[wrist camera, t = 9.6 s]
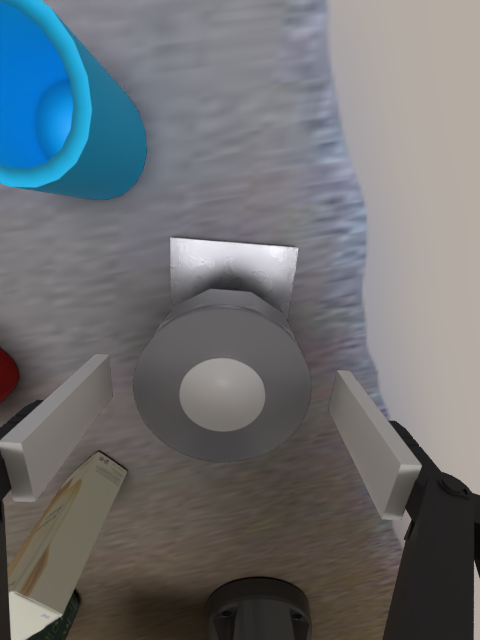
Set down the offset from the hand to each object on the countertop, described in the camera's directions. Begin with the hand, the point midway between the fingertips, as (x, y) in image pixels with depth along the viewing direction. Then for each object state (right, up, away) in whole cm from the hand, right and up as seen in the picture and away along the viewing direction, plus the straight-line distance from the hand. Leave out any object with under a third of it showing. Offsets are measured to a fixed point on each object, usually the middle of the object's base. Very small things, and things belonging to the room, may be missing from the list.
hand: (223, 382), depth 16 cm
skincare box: (-15, -14, +16) cm, 26 cm away
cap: (0, +1, +2) cm, 2 cm away
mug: (-12, +17, +5) cm, 21 cm away
